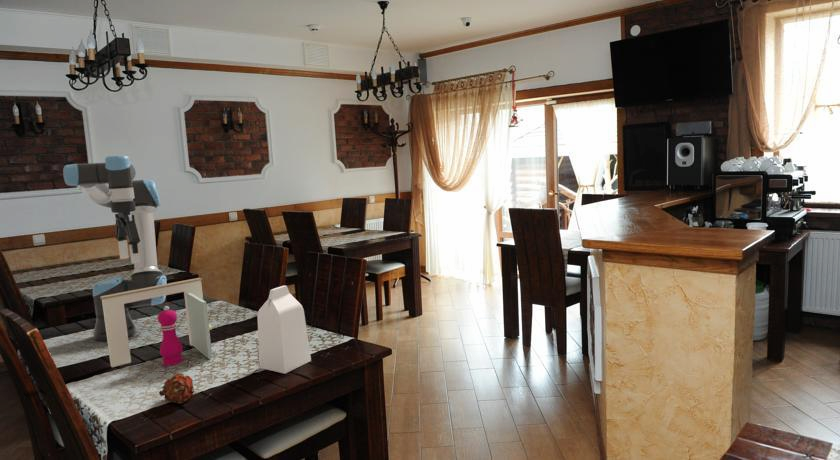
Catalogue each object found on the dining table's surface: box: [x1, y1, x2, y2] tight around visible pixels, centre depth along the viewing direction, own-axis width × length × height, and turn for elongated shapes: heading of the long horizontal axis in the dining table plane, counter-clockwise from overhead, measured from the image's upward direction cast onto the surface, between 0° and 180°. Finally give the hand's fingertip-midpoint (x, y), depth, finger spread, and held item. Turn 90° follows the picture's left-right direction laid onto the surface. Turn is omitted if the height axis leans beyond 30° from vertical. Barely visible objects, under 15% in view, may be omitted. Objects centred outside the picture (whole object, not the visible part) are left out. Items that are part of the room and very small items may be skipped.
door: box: [186, 292, 213, 360], centre depth 199 cm, size 3×20×20 cm, turn 38°
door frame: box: [100, 277, 204, 368], centre depth 200 cm, size 3×34×25 cm, turn 133°
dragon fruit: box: [158, 373, 195, 404], centre depth 160 cm, size 8×8×12 cm
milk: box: [257, 285, 312, 374], centre depth 182 cm, size 12×12×26 cm
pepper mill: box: [157, 305, 184, 367], centre depth 190 cm, size 7×7×20 cm
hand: (130, 260), depth 196 cm, fingers open, 13 cm apart
